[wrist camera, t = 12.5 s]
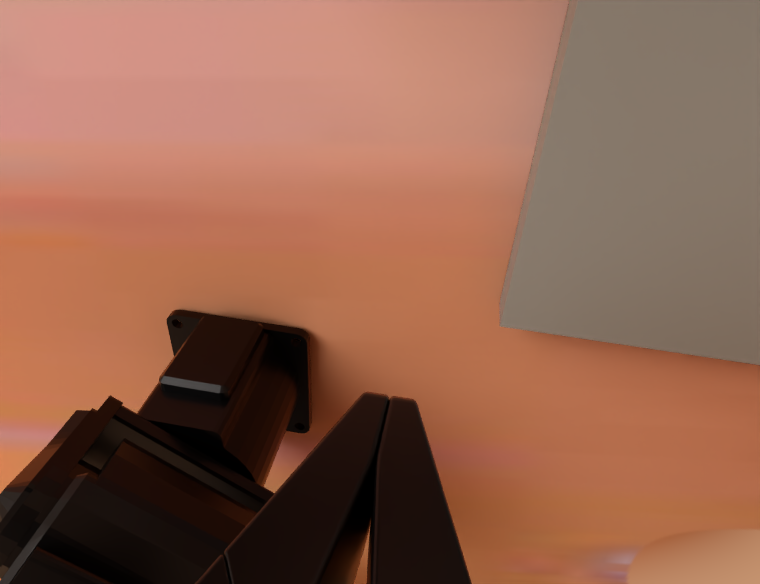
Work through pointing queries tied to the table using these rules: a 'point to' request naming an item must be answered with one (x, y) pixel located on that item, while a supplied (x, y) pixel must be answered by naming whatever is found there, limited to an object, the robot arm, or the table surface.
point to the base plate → (646, 182)
